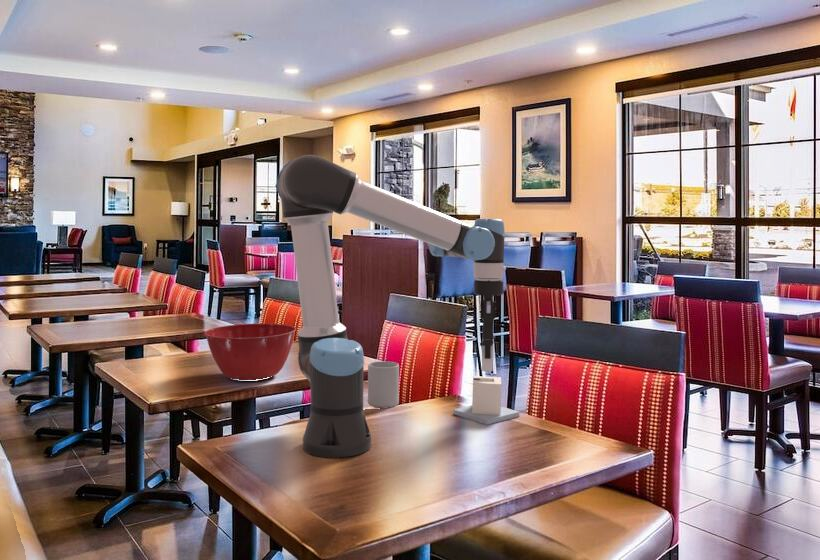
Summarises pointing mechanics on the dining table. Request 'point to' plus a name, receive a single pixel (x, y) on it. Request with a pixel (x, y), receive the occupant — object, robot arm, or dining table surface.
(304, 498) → the dining table surface
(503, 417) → the plate
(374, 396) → the mug
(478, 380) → the cube with square hole
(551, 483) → the dining table surface
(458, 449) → the dining table surface
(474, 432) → the dining table surface
